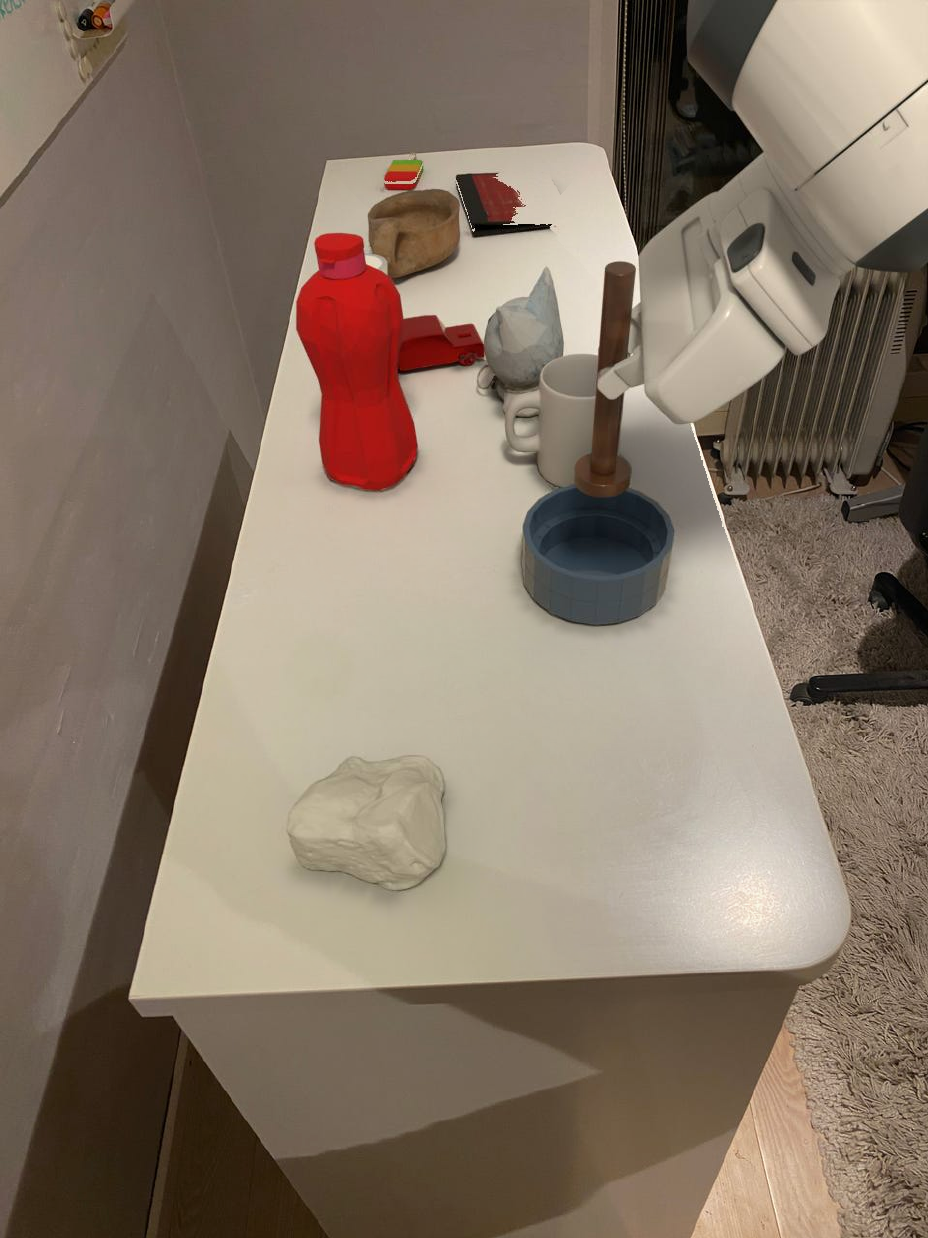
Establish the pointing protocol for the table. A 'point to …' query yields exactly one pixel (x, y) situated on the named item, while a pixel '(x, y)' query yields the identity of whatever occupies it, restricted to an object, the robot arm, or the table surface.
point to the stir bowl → (596, 554)
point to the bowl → (414, 229)
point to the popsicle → (403, 173)
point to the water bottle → (356, 365)
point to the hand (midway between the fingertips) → (603, 375)
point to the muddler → (603, 466)
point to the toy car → (437, 343)
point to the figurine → (523, 342)
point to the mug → (559, 416)
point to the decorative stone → (373, 821)
